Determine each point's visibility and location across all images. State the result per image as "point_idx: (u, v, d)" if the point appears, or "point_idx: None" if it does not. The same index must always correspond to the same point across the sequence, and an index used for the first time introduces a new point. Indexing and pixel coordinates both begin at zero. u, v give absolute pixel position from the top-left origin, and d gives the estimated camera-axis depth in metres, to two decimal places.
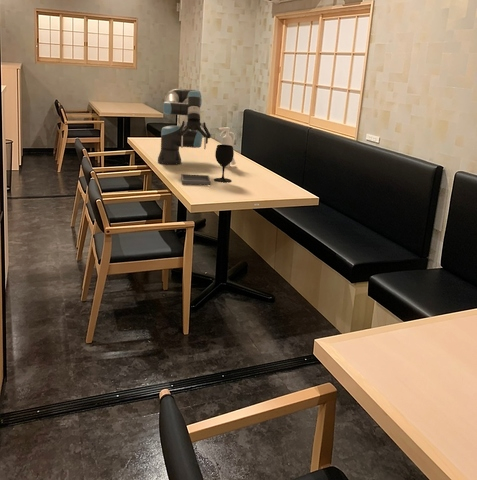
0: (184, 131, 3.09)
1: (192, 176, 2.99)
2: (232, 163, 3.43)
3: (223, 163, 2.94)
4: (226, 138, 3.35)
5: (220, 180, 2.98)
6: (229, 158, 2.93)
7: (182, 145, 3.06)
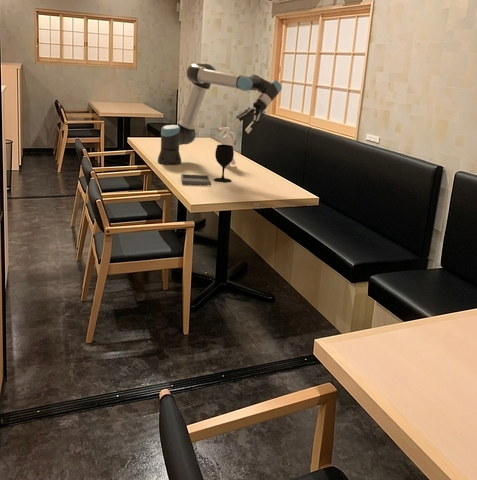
0: None
1: (192, 176, 2.99)
2: (232, 163, 3.43)
3: (223, 163, 2.94)
4: (226, 138, 3.35)
5: (220, 180, 2.98)
6: (229, 158, 2.93)
7: None
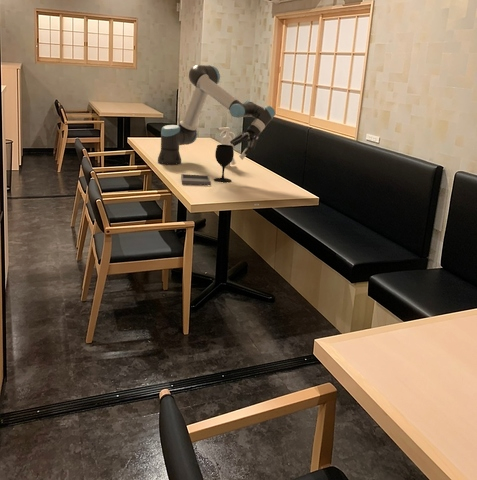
0: None
1: (192, 176, 2.99)
2: (232, 163, 3.43)
3: (223, 163, 2.94)
4: (226, 138, 3.35)
5: (220, 180, 2.98)
6: (229, 158, 2.93)
7: (242, 159, 2.95)
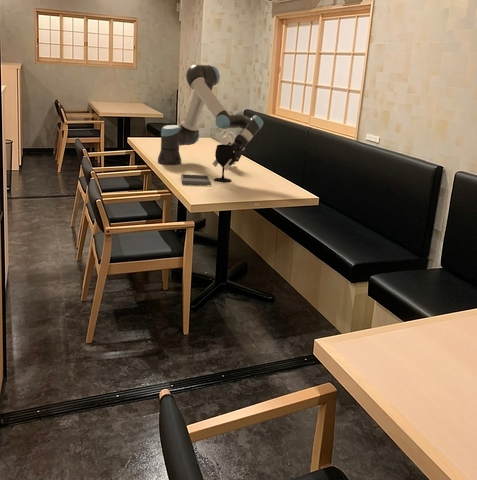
0: None
1: (192, 176, 2.99)
2: None
3: (223, 163, 2.94)
4: (226, 138, 3.35)
5: (220, 180, 2.98)
6: (229, 158, 2.93)
7: (226, 170, 2.94)
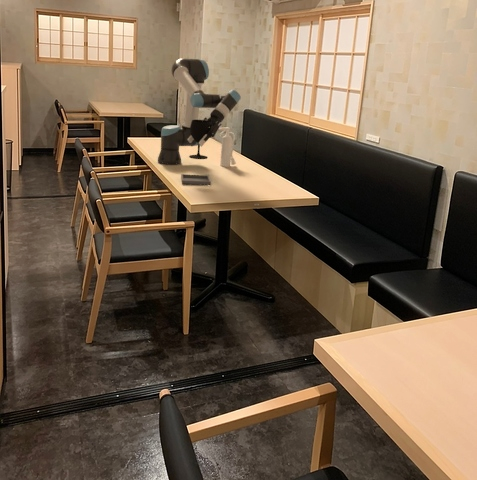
0: None
1: (192, 176, 2.99)
2: (232, 163, 3.43)
3: (198, 139, 2.82)
4: (226, 138, 3.35)
5: (195, 157, 2.86)
6: (204, 133, 2.81)
7: (201, 146, 2.82)
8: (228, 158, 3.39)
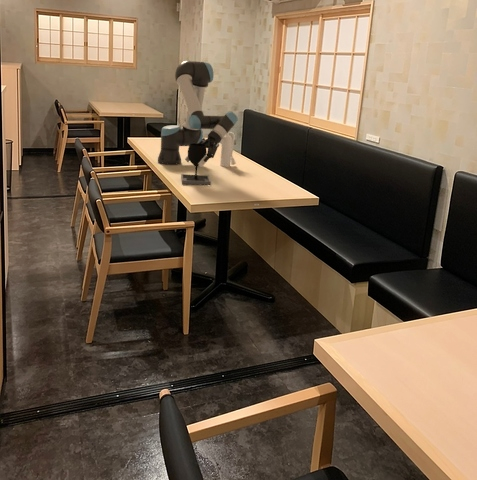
0: None
1: (192, 176, 2.99)
2: (232, 163, 3.43)
3: (196, 162, 2.87)
4: (226, 138, 3.35)
5: (193, 180, 2.90)
6: (202, 157, 2.86)
7: (201, 166, 2.84)
8: (228, 158, 3.39)
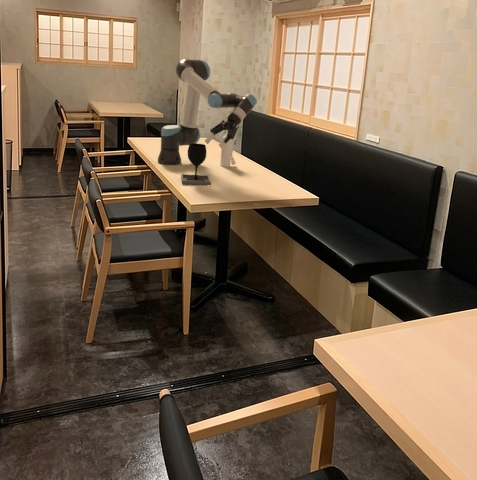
0: None
1: (192, 176, 2.99)
2: (232, 163, 3.43)
3: (196, 162, 2.87)
4: None
5: (193, 180, 2.90)
6: (202, 157, 2.86)
7: (221, 147, 2.89)
8: (228, 158, 3.39)
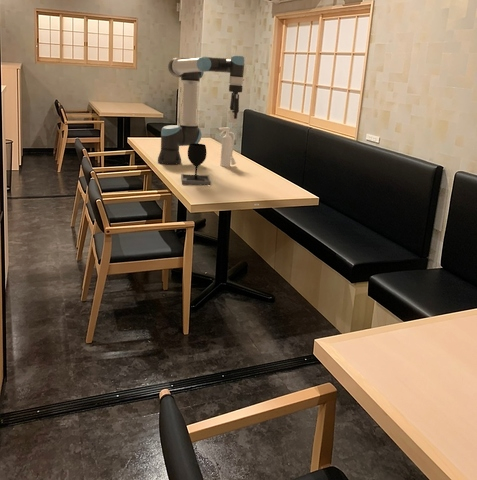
0: None
1: (192, 176, 2.99)
2: (232, 163, 3.43)
3: (196, 162, 2.87)
4: (226, 138, 3.35)
5: (193, 180, 2.90)
6: (202, 157, 2.86)
7: None
8: (228, 158, 3.39)
